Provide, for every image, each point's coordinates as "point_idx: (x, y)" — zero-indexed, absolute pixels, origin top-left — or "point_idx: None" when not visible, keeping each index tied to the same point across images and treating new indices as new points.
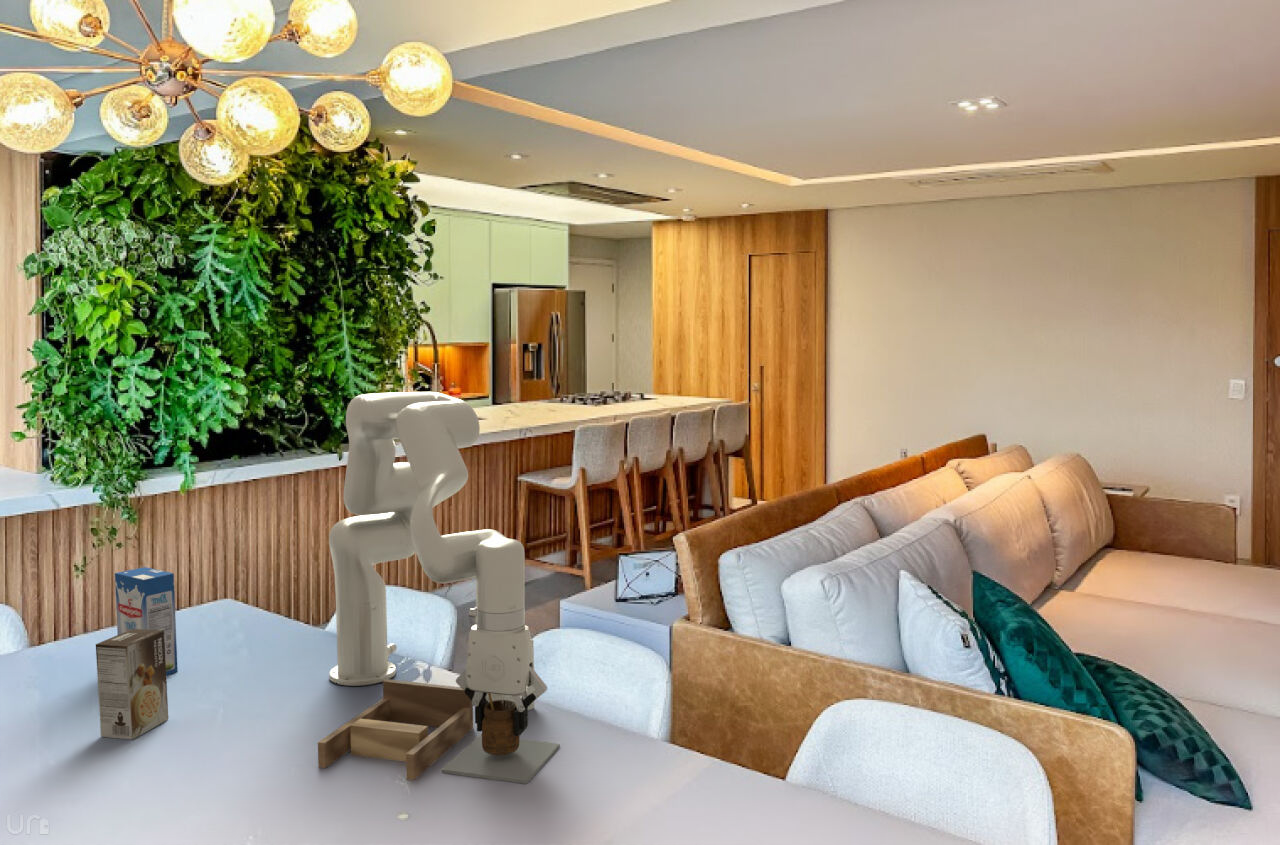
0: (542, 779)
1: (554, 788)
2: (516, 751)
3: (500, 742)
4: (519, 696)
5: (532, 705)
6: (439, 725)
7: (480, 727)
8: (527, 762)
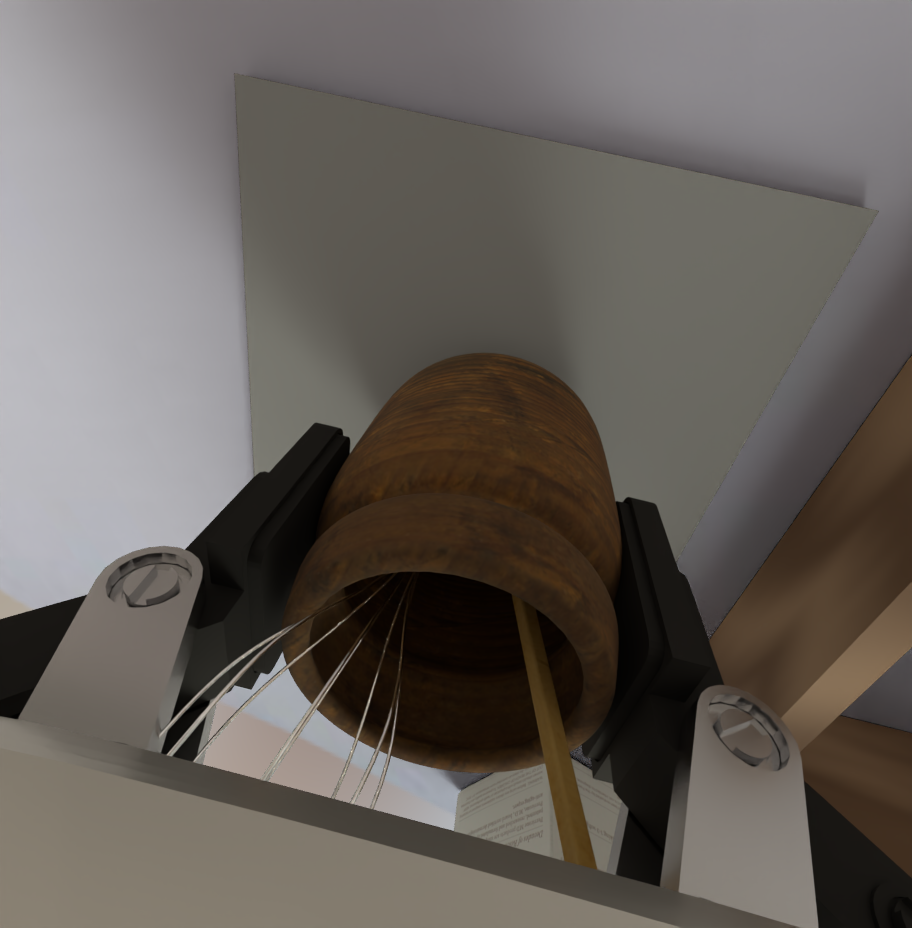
0: (187, 170)
1: (58, 28)
2: None
3: (449, 380)
4: (30, 718)
5: (461, 800)
6: (835, 721)
7: (629, 515)
8: (326, 355)
